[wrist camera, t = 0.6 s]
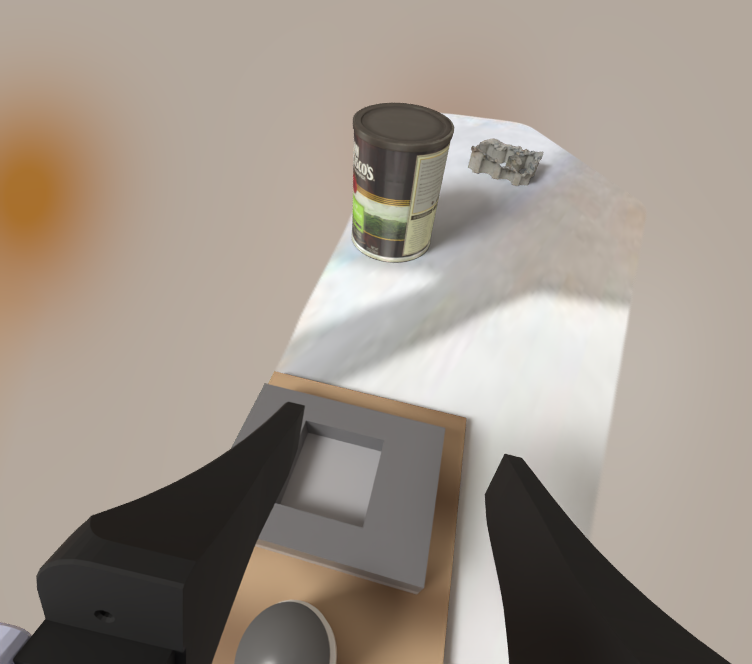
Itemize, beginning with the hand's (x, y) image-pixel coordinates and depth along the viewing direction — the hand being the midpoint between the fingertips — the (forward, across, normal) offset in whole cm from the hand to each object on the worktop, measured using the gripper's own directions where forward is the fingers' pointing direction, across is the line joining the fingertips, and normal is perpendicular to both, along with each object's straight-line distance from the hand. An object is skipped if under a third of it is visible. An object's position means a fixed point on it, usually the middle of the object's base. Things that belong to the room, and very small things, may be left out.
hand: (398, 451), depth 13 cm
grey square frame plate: (+10, +2, +13) cm, 16 cm away
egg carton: (+60, -12, -10) cm, 62 cm away
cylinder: (+1, +2, +17) cm, 17 cm away
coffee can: (+39, +2, +1) cm, 39 cm away
